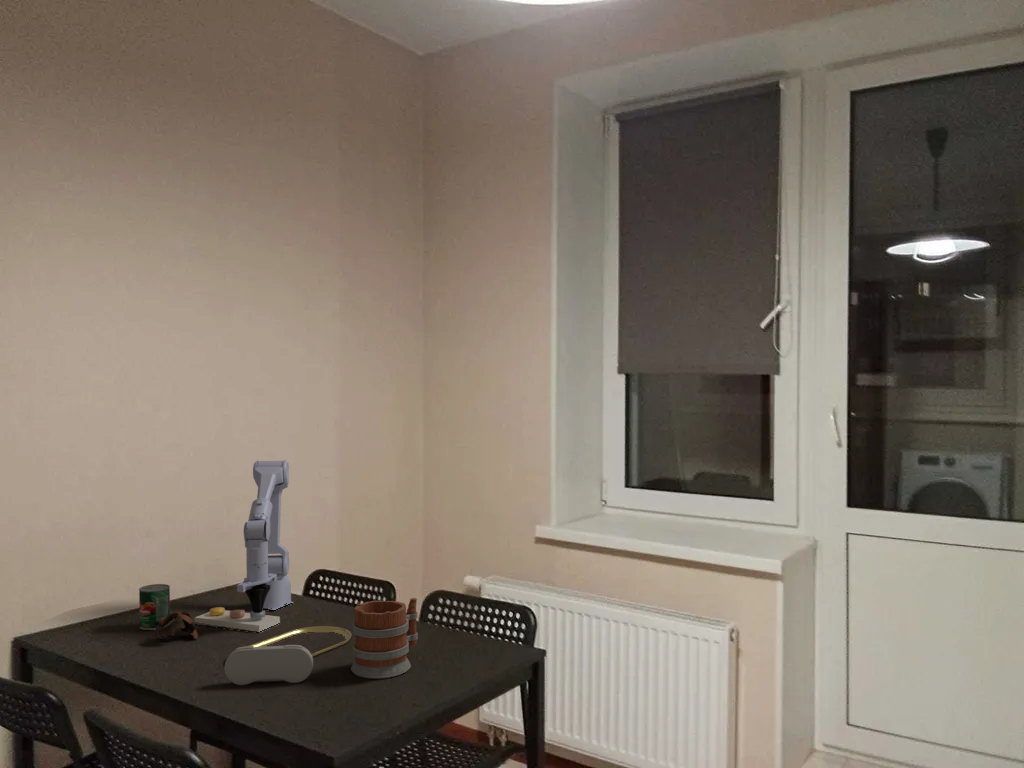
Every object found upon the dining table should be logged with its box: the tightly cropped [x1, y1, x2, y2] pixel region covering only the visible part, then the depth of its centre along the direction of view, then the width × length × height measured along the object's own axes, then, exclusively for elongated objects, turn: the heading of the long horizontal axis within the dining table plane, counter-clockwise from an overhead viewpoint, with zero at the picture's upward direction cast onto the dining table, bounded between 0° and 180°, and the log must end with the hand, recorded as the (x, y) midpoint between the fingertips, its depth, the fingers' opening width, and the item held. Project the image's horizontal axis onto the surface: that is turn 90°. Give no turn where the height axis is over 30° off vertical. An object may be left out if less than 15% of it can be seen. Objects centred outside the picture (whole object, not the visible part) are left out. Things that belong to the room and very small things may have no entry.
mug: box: [350, 597, 419, 680], centre depth 202 cm, size 14×19×15 cm
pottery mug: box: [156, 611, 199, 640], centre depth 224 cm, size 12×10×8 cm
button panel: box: [194, 609, 281, 633], centre depth 237 cm, size 9×22×2 cm, turn 69°
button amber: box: [209, 606, 226, 615], centre depth 239 cm, size 4×4×1 cm
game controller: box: [224, 644, 314, 686], centre depth 192 cm, size 20×2×8 cm, turn 96°
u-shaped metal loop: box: [227, 625, 353, 658], centre depth 215 cm, size 19×35×2 cm, turn 149°
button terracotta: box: [229, 609, 246, 618], centre depth 237 cm, size 4×4×1 cm
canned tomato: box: [138, 583, 171, 628], centre depth 235 cm, size 8×8×11 cm
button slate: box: [249, 610, 266, 618], centre depth 234 cm, size 4×4×1 cm
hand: (257, 612), depth 234 cm, fingers closed, pressing on button slate
